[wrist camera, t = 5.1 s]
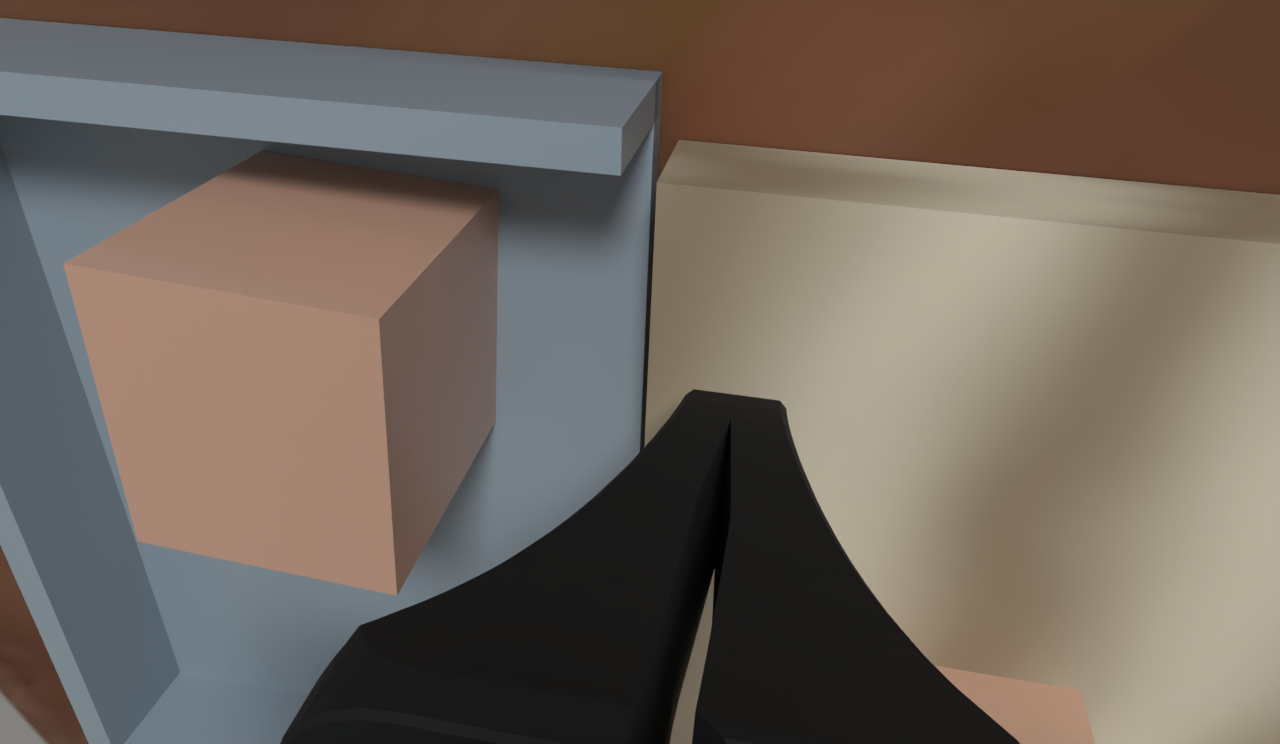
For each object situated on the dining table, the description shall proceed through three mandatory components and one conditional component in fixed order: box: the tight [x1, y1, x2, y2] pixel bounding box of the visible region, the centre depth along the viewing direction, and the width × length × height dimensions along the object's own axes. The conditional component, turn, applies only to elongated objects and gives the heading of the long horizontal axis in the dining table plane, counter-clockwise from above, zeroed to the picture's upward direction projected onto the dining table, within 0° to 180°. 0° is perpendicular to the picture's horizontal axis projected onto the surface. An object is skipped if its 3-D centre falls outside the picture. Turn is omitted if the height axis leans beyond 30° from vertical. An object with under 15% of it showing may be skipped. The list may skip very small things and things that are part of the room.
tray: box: [0, 18, 663, 744], centre depth 17 cm, size 12×16×3 cm
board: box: [644, 140, 1280, 744], centre depth 16 cm, size 13×14×2 cm
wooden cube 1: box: [63, 151, 499, 596], centre depth 14 cm, size 4×4×4 cm
